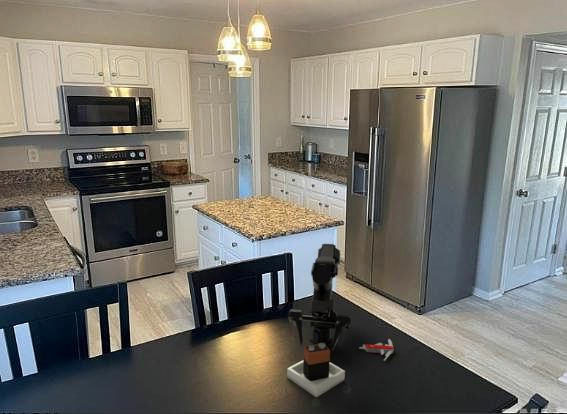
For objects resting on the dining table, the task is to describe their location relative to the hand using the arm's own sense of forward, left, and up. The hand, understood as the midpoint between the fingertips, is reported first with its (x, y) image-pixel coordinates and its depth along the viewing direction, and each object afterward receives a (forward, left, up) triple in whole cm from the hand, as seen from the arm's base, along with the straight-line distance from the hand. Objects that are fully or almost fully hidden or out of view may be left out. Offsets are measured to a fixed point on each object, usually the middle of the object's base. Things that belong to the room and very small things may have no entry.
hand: (316, 347), depth 122 cm
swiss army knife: (-26, +3, -10) cm, 28 cm away
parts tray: (0, 0, -10) cm, 10 cm away
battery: (0, 0, -9) cm, 9 cm away
